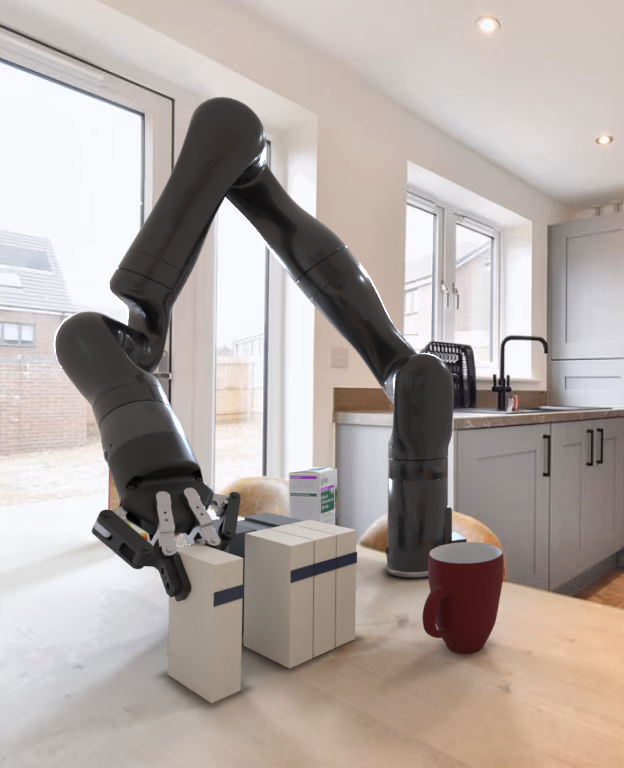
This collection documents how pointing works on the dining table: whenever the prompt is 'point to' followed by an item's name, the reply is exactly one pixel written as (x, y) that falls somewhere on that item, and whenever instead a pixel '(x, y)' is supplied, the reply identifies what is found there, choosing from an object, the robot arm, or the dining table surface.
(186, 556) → the white book
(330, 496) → the syrup box
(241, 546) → the grey books
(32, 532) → the dining table surface
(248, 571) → the white books
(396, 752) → the dining table surface
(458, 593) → the mug
